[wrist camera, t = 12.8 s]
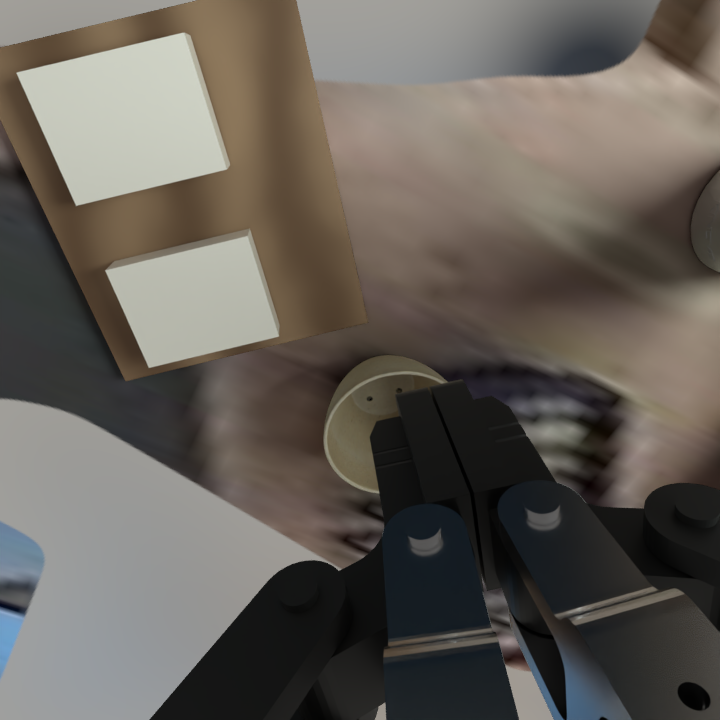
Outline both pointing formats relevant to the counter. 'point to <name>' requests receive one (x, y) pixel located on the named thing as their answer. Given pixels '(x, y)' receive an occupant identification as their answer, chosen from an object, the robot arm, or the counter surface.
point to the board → (215, 190)
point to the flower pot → (368, 413)
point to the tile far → (195, 298)
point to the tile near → (127, 118)
